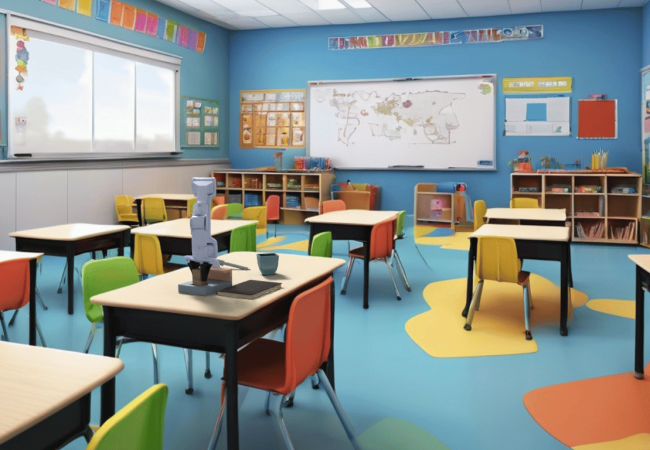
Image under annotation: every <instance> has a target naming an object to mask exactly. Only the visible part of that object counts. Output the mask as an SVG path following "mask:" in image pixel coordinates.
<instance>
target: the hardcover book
mask: <svg viewBox="0 0 650 450" xmlns="http://www.w3.org/2000/svg"><path fill="white" fill-rule="evenodd" d="M282 284H283V283H282V282H277V281H276V282H275V281H268V280H257V279H247V280H245V281H244V280H243V281H242V282H238V283H235V284H232V286H230V287H227V288H224V289H221V290H218V291H217V293H216V296H224V297H232V298H241V299H250V300H251V299H252V300H253V299H254V298H257V297H259V296H262V295H266V294H267V292H268V293H270V292H273V291H274V289H275V290H277V289H276V288H278V289H280V288H282ZM279 287H280V288H279ZM272 290H273V291H272Z"/></svg>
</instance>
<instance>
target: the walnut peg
mask: <svg viewBox="0 0 650 450" xmlns="http://www.w3.org/2000/svg"><path fill="white" fill-rule="evenodd" d="M191 278H192V280H191V281H192V284H193V285H196V286H204V285H207V281H204V282H203V281H202V275H201V269H200V268H196V269H192V273H191Z"/></svg>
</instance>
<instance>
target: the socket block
mask: <svg viewBox="0 0 650 450" xmlns="http://www.w3.org/2000/svg"><path fill="white" fill-rule="evenodd" d="M230 286H233V280H232V281H224V280H217V279H210V278H207V285H204V286H196V285H193V284H192V280H189V281H187V282H186V281H185V282H182V283H178V284H177V290H178V293H183V294H190V295H197V296H202V297H207V296H210V295H215V294H217V291H218V290H221V289H224V288H227V287H230Z"/></svg>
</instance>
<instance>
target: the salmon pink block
mask: <svg viewBox="0 0 650 450" xmlns="http://www.w3.org/2000/svg"><path fill="white" fill-rule="evenodd" d="M199 268H200V267H199ZM208 278H210V279H217V280H224V281H232V282H233V268H232V267H231V268H229V267H223V266H220V267H214V266H212V267H211V269H210V271H209V274H208Z"/></svg>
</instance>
